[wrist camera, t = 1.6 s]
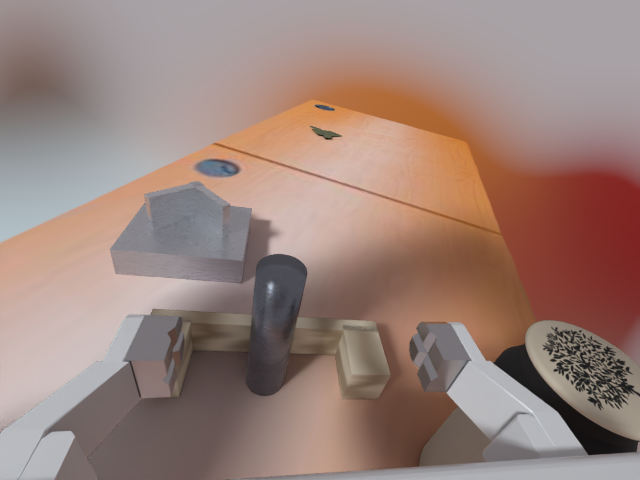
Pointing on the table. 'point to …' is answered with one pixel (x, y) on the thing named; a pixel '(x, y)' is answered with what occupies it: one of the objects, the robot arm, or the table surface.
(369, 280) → the table surface
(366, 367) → the notched beam
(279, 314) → the steel axle
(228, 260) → the v block
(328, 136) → the olive green flat piece
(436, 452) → the travel mug
